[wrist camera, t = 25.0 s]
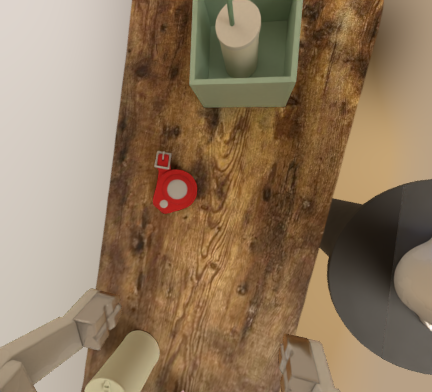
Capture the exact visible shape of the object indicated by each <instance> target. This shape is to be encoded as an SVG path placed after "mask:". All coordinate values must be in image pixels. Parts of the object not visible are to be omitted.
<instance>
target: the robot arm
mask: <svg viewBox="0 0 432 392" xmlns="http://www.w3.org/2000/svg"><path fill="white" fill-rule="evenodd" d="M394 286H395V290H396V293H397V295H398V297H399V298H400V300H401V301H402V302H403V303H404V304H405V305H406V306H407V307H408V308H409V309H411V310H412V311H413V312H415V313H416V314H417V315H418V316H419V318H420V320H421V321H422V323H423V324H424V326H425V327H426V328H428V329H429V330H431V331H432V238H431V239H430V240H429V241H427V242H425V243H423V244H421V245H419V246H416V247H414V248H413V249H411V250H410V251H408V252H407V253H406V254H405V255H404V256H403V257H402V258H401V260H400V261H399V263H398V264H397V267H396V269H395V273H394ZM120 300H121V299H120V295H116V294H112V293H108V292H104V291H101V290H96V289H89V290H88V291H87V292H86V293H85V294H84V295H83V296H82V297H81V298H80V299H79V300H78V301H77V302H76V303H75V304H74V305H73V306H72V308H71V309H70V310H69V311H68V312H67V313H66V314H65V315H64V316H63V317H58V318H56V319H54V320H53V321H50V322H49V323H47V324H45V325H43V326H41V327H39V328H37V329H35V330H33V331H31V332H29V333H27V334H26V335H24V336H22V337H20V338H18V339H16V340H14V341H12V342H10V343H8V344H7V345H5V346H2V347H0V392H37V391H36V389H35V387H34V386H33V385H34V384H35V383H37V382H38V381H39V380H41V379H42V378H43V377H45V376H46V375H47V374H49V373H50V372H51V371H52V370H54V369H55V368H57V367H58V366H59V365H61V364H62V363H63V362H64V361H66V360H67V359H68V358H70V357H71V356H72V355H73V354H75V353H76V352H78V351H79V350H80V349H82V348H83V347H87V348H91V349H96V350H100V349H101V347H102V346H103V344H104V343H105V341H106V340H107V338H108V337H109V330H111V329H112V328H114V327H115V326H116V324H117V323H118V321H119V319H120V316H121V313H122V306H121V305H120V304H119V302H120ZM82 346H83V347H82ZM278 363H279V369H280V371H281V373H282V377H281V380H280V385H281V392H340V390H339V389H336V388H335V387H334V384H333V380H332V377H331V374H330V370H329V367H328V363H327V360H326V357H325V353H324V350H323V346H322V344H321V343H320V342H319V341H315V340H311V339H307V338H303V337H299V336H294V335H289V334H284V336H283V343H282V344H280V348H279V354H278Z"/></svg>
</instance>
